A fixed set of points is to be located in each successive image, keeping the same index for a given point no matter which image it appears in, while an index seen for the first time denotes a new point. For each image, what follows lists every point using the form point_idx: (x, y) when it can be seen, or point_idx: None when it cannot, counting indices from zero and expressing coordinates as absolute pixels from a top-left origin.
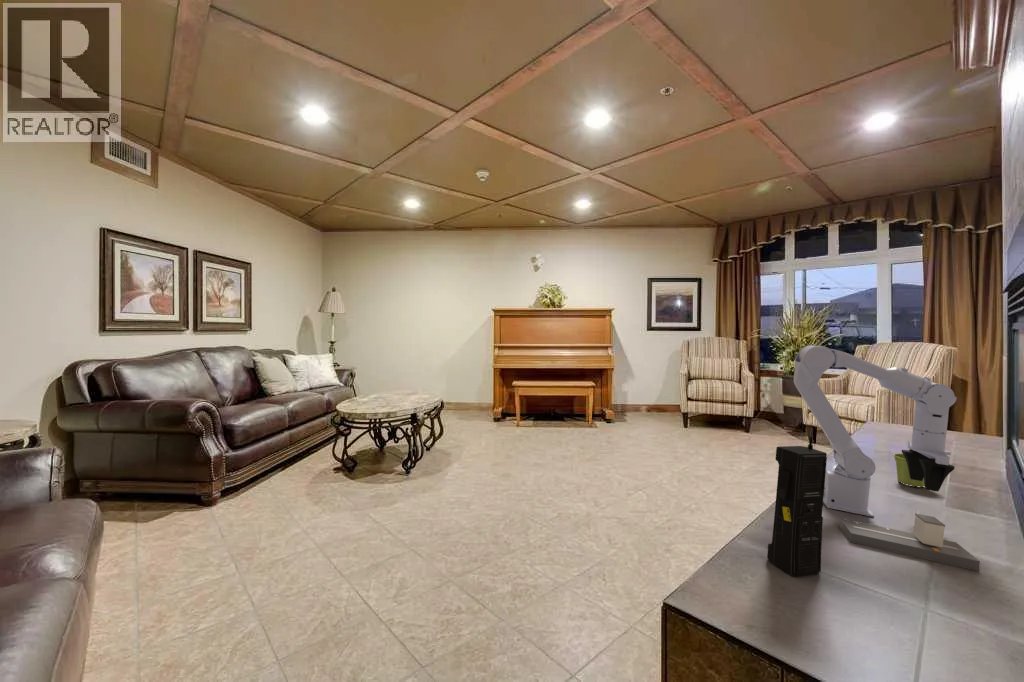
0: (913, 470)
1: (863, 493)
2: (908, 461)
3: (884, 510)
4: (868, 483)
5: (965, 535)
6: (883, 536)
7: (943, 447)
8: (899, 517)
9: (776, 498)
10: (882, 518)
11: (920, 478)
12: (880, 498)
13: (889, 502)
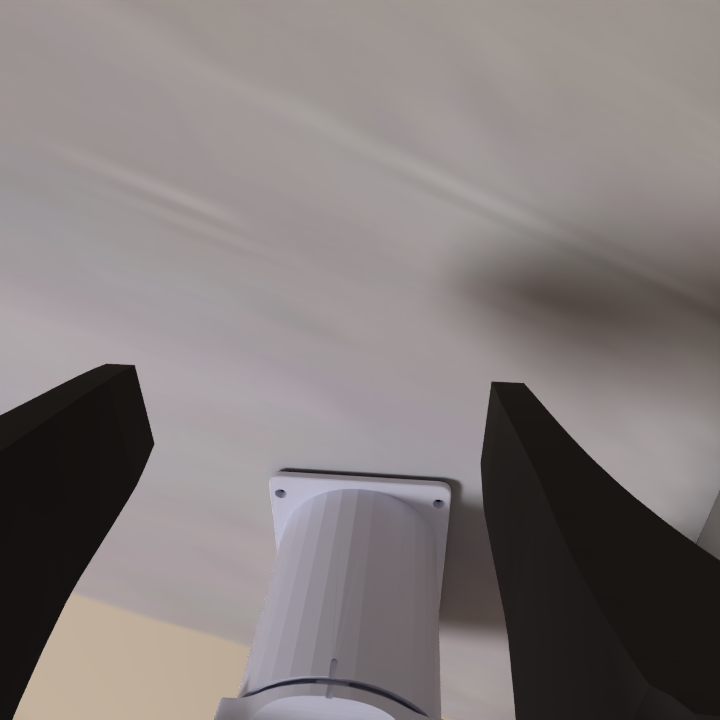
0: (93, 517)
1: (430, 623)
2: (34, 666)
3: (267, 383)
4: (407, 673)
5: (465, 25)
6: None
7: None
8: (346, 346)
9: None
10: (430, 442)
11: (123, 395)
12: (11, 319)
13: (55, 293)
